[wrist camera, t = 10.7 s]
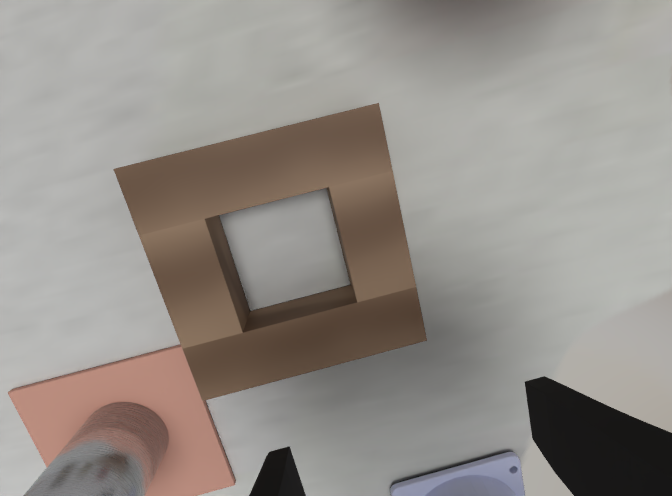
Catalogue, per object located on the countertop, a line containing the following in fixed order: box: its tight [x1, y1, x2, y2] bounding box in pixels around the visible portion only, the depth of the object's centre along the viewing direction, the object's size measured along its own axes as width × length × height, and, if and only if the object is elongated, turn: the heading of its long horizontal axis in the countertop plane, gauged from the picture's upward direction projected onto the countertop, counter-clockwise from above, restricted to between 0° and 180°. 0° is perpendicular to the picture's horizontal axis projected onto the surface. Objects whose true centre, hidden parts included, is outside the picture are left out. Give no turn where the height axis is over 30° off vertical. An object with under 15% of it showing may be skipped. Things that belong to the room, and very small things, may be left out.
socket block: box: [114, 103, 427, 401], centre depth 18 cm, size 11×11×2 cm
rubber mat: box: [8, 345, 236, 496], centre depth 20 cm, size 9×9×1 cm
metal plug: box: [24, 402, 169, 496], centre depth 17 cm, size 4×4×6 cm
